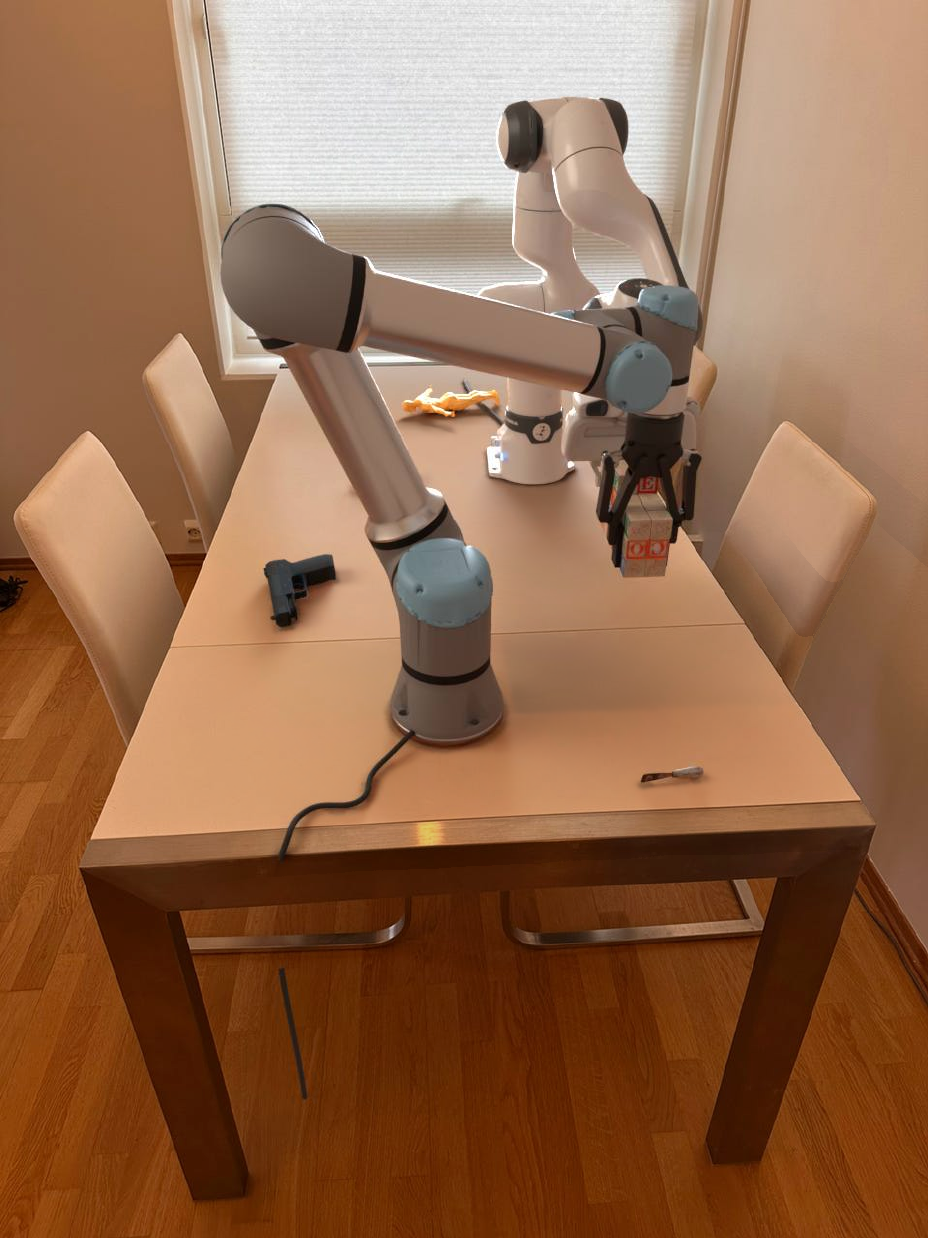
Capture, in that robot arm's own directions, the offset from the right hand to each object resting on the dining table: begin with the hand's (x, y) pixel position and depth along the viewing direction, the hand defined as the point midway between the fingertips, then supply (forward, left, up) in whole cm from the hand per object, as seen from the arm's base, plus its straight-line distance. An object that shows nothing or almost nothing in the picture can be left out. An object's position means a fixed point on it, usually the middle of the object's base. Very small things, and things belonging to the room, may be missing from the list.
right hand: (624, 484), depth 139 cm
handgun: (-8, -51, -19) cm, 55 cm away
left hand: (+13, -2, -6) cm, 15 cm away
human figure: (-94, -9, -19) cm, 97 cm away
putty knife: (+46, -9, -19) cm, 51 cm away
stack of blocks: (+7, -1, -7) cm, 10 cm away
